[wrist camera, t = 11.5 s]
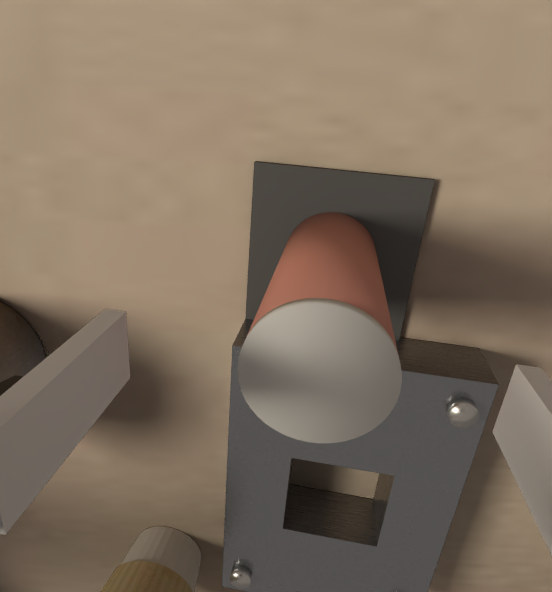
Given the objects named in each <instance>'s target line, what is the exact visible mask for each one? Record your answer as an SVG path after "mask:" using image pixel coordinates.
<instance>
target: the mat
mask: <svg viewBox="0 0 552 592" xmlns="http://www.w3.org/2000/svg"><path fill="white" fill-rule="evenodd" d="M433 185H434V179H427V178H417V177H407V176H397V175H387V174H377V173H367V172H358V171H348V170H338V169H328V168H318V167H308V166H298V165H288V164H278V163H268V162H258V161H255V162H254V177H253V195H252V213H251V230H250V248H249V266H248V284H247V302H246V319H251V320H254V318H255V316H256V314H257V311H258V309H259V307H260V304H261V302H262V300H263V297H264V295H265V293H266V290H267V288H268V286H269V284H270V281H271V279H272V277H273V274H274V272H275V270H276V267H277V265H278V263H279V260H280V258H281V256H282V253H283V251H284V249H285V246H286V244H287V242H288V240H289V237H290V235H291V234H292V232H293V231H294V229H295V228H296V227H297V226H298V225H299V224H300V223H301V222H302V221H304V220H305V219H307V218H309V217H311V216H313V215H316V214H319V213H324V212H337V213H342V214H346V215H348V216H351V217H353V218H354V219H356V220H358V221H359V222H360V223H361V224H362V225H364V227H365V228H366V229H367V230H368V232H369V233H370V235H371V237H372V239H373V242H374V245H375V249H376V254H377V258H378V263H379V268H380V272H381V277H382V282H383V286H384V291H385V295H386V300H387V305H388V309H389V314H390V318H391V323H392V328H393V332H394V337H395V340H399V338H400V334H401V329H402V325H403V320H404V316H405V311H406V307H407V302H408V298H409V293H410V289H411V284H412V280H413V275H414V271H415V266H416V262H417V257H418V253H419V248H420V244H421V239H422V235H423V230H424V226H425V221H426V217H427V212H428V207H429V203H430V198H431V194H432V189H433Z"/></svg>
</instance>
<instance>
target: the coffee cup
mask: <svg viewBox="0 0 552 592" xmlns="http://www.w3.org/2000/svg"><path fill="white" fill-rule="evenodd" d="M200 563H201V551H200V549H199V547H198V545H197V544H196V542H195V541H194V540H193V539H192V538H190V537H189V536H188V535H186V534H185V533H183V532H181V531H179V530H176V529H174V528H170V527H164V526H155V527H150V528H148V529H145V530H144V531H143V532H141V533H140V535H139V536H138V538H137V539H136V541H135V543H134V544H133V546H132V547H131V549H130V550H129V552H128V554H127V555H126V557H125V558H124V560H123V562H122V563H121V565H120V566H119V567H117V568H116V569H115V571H114V572H113V574H112V575H111V577H110V578H109V580H108V582H107V583H106V585H105V586H104V588H103V589H102V591H101V592H195V587H196V582H197V578H198V573H199V568H200Z"/></svg>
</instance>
